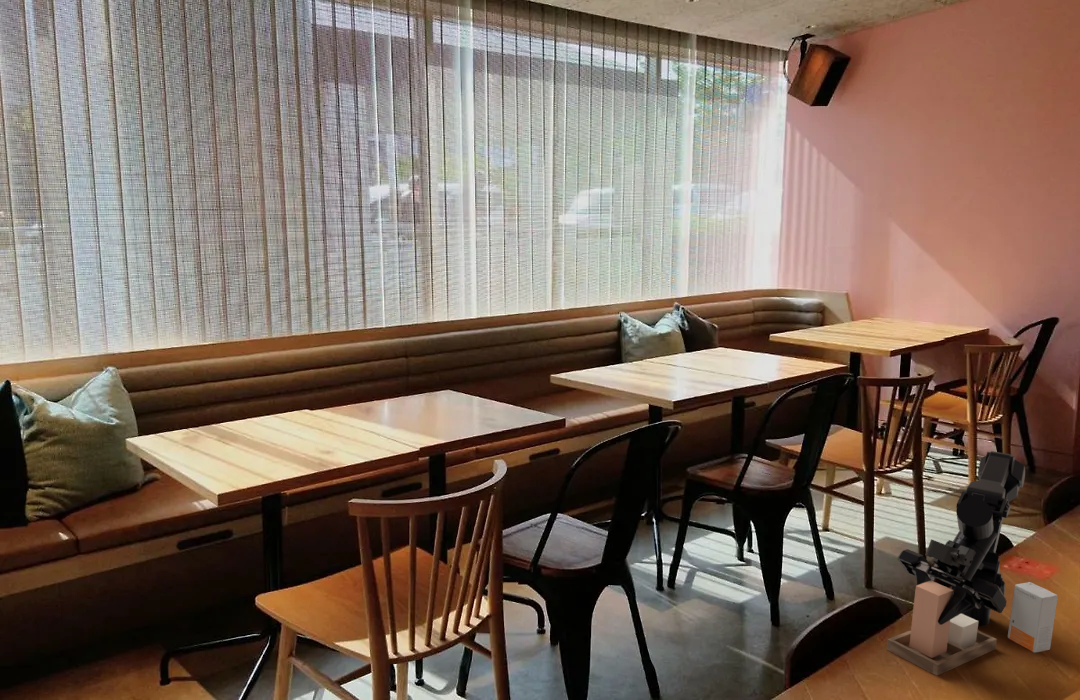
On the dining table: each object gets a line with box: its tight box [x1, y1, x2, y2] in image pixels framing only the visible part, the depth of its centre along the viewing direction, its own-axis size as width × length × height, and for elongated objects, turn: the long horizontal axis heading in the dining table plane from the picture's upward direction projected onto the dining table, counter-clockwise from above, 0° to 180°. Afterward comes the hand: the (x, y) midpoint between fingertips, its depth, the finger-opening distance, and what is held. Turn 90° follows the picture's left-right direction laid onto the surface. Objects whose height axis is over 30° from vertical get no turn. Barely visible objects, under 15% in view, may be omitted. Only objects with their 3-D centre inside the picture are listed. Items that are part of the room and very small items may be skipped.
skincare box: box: [1007, 581, 1059, 653], centre depth 157 cm, size 6×4×12 cm
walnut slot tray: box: [886, 629, 998, 677], centre depth 155 cm, size 18×10×3 cm, turn 122°
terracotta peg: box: [909, 580, 954, 658], centre depth 152 cm, size 4×4×12 cm
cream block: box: [948, 614, 979, 649], centre depth 157 cm, size 5×5×5 cm
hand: (926, 617), depth 151 cm, fingers closed on terracotta peg, 4 cm apart
